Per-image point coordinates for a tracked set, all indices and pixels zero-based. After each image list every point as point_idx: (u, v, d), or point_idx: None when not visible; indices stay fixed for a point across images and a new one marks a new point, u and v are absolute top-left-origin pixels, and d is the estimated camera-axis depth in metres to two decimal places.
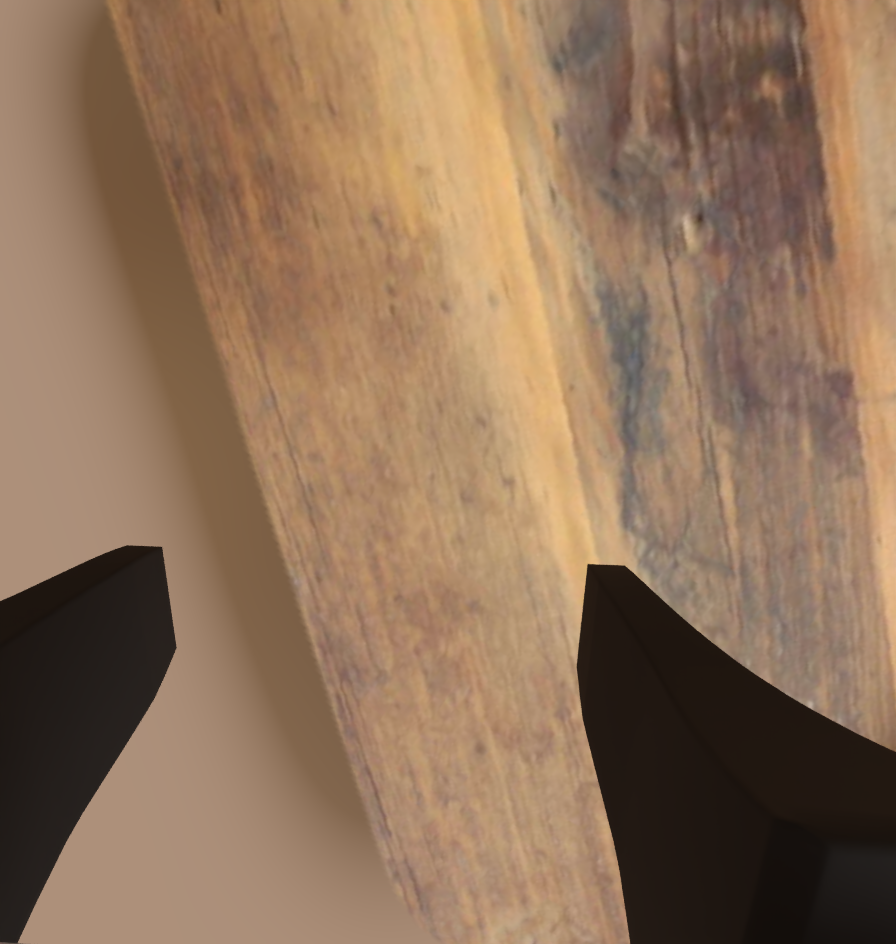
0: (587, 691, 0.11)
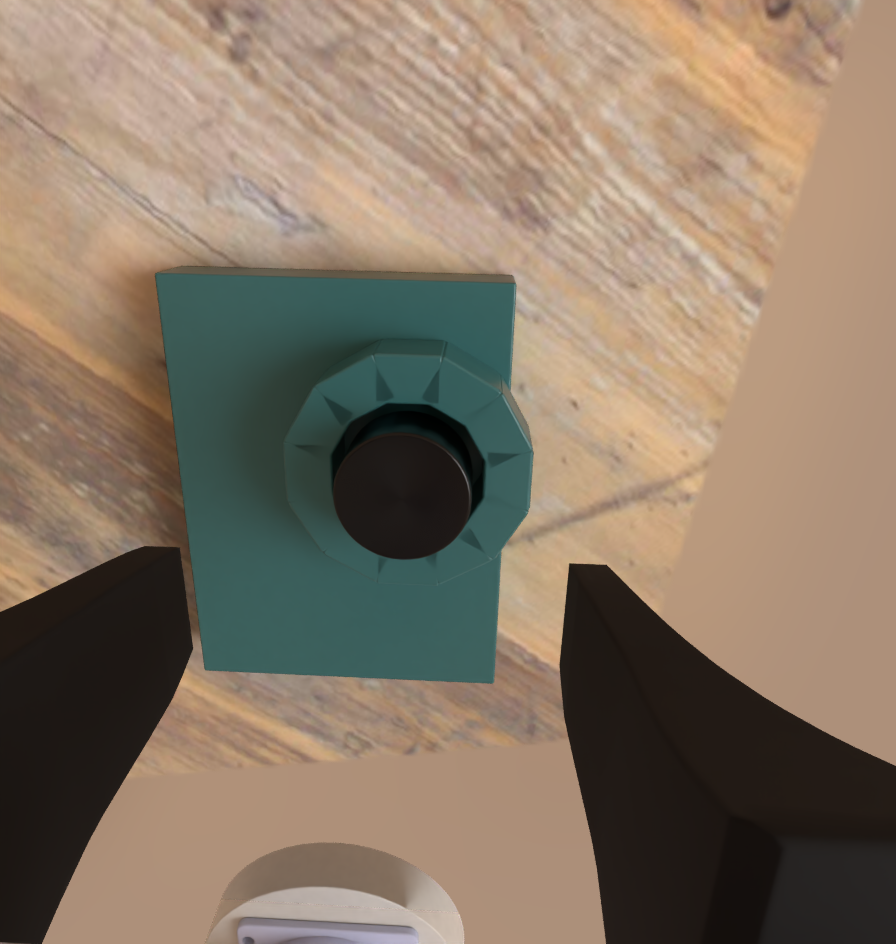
0: (568, 690, 0.11)
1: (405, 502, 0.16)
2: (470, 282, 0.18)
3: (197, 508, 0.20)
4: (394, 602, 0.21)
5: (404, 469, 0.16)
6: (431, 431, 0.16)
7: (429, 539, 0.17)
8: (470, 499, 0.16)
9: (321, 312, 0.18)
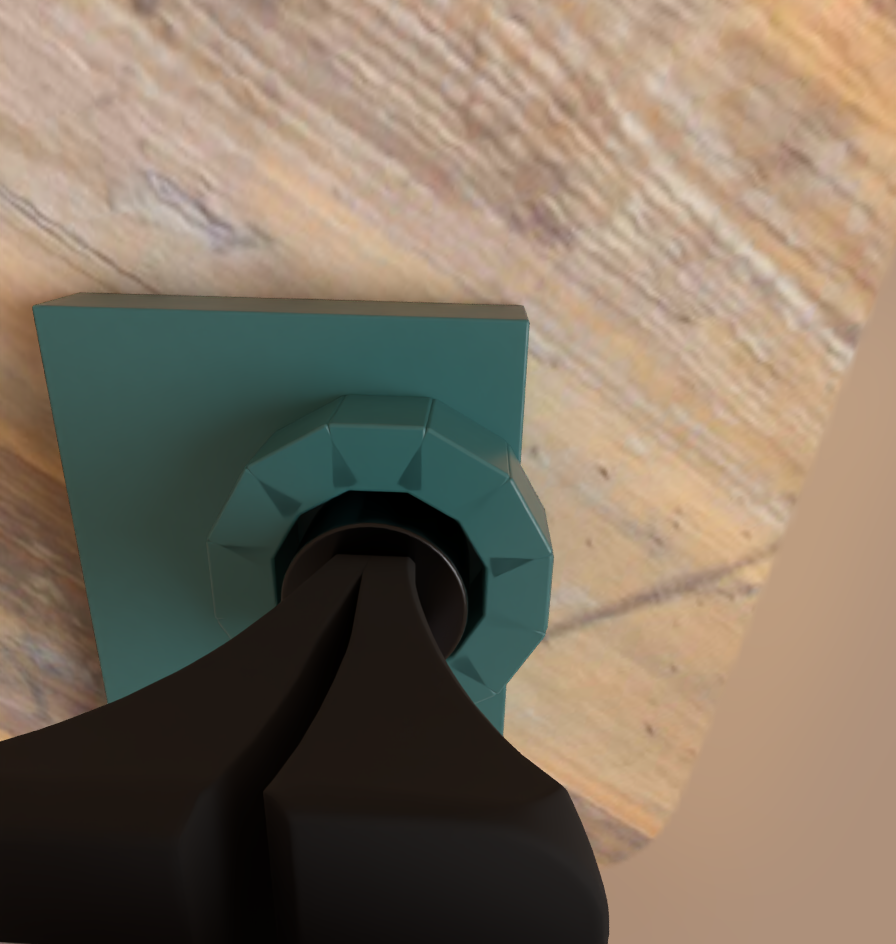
0: None
1: None
2: (466, 319, 0.13)
3: (106, 611, 0.15)
4: None
5: None
6: (414, 517, 0.12)
7: None
8: (466, 609, 0.12)
9: (261, 359, 0.13)
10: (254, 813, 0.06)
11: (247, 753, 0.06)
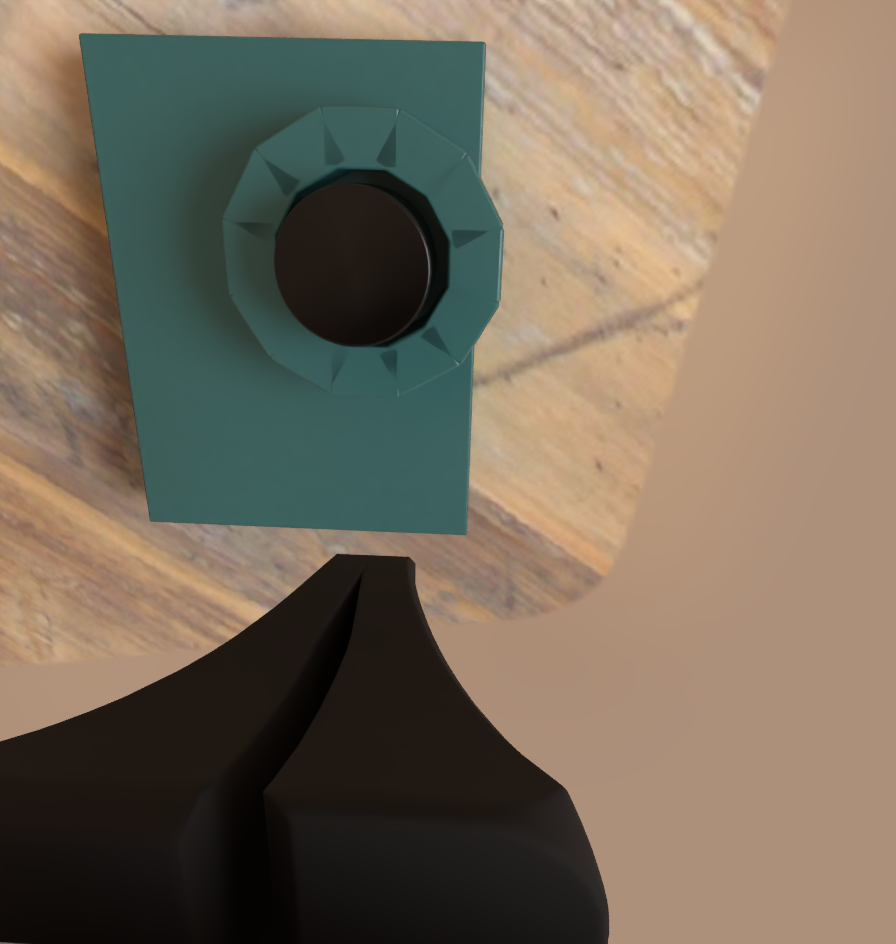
0: None
1: (355, 273, 0.14)
2: (434, 41, 0.16)
3: (135, 325, 0.18)
4: (355, 437, 0.19)
5: (354, 230, 0.14)
6: (386, 191, 0.14)
7: (384, 319, 0.15)
8: (430, 268, 0.14)
9: (267, 80, 0.16)
10: (254, 813, 0.06)
11: (247, 753, 0.06)
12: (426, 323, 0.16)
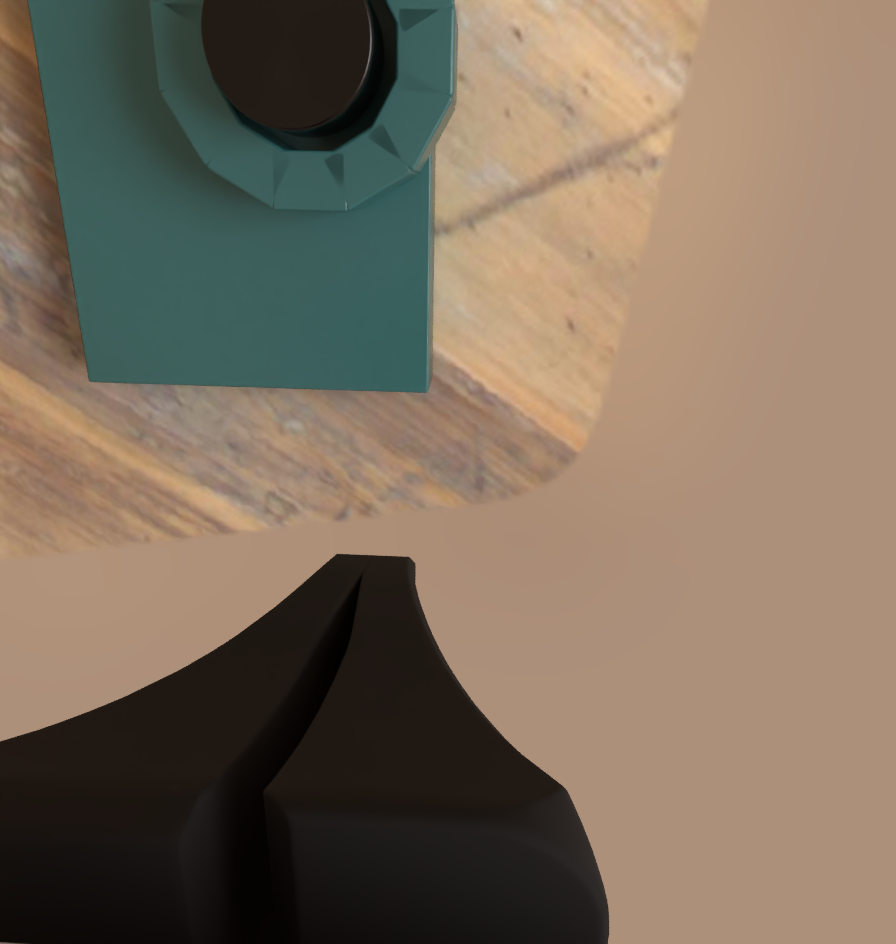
0: None
1: (290, 40, 0.13)
2: None
3: (67, 152, 0.17)
4: (307, 280, 0.18)
5: None
6: None
7: (323, 96, 0.13)
8: (371, 33, 0.13)
9: None
10: (254, 813, 0.06)
11: (247, 753, 0.06)
12: (374, 122, 0.15)
